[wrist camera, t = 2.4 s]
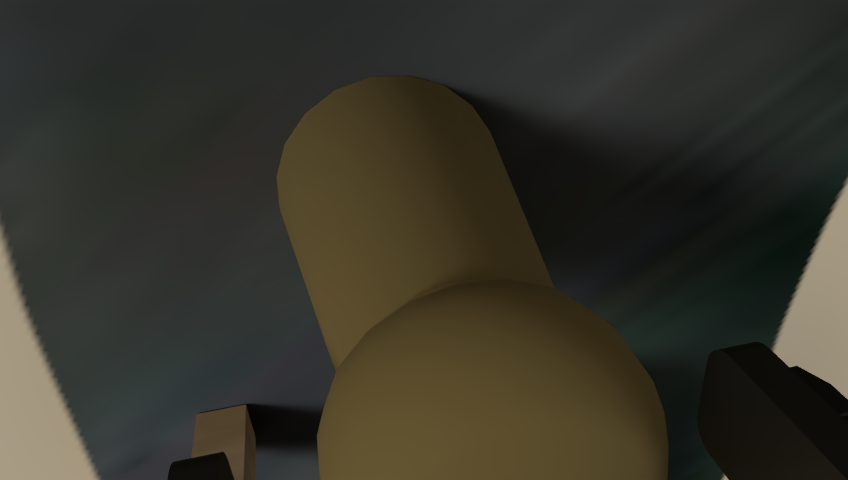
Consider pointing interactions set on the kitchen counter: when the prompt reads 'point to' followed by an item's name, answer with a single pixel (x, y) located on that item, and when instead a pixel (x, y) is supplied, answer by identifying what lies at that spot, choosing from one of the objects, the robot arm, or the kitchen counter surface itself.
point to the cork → (449, 306)
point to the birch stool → (227, 439)
